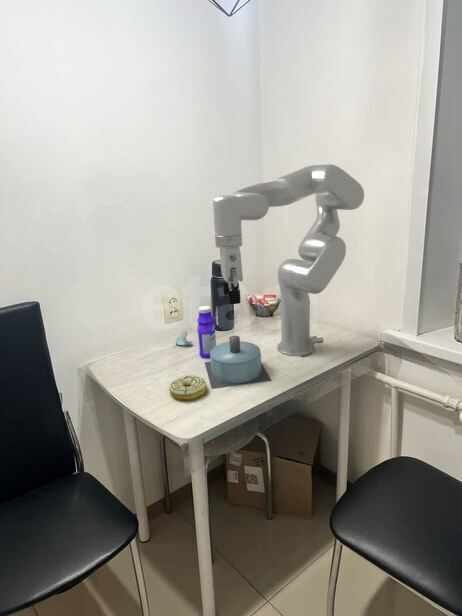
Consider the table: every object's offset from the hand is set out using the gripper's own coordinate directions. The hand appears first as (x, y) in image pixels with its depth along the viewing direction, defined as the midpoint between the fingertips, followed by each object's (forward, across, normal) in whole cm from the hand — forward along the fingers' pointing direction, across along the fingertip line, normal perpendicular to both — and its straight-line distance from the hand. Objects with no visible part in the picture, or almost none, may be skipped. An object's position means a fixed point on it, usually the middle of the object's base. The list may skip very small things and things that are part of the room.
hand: (231, 298), depth 121 cm
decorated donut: (+24, -9, +16) cm, 30 cm away
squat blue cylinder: (+24, 0, 0) cm, 24 cm away
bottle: (+24, +15, +7) cm, 29 cm away
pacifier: (+24, +26, +15) cm, 39 cm away
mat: (+24, 0, 0) cm, 24 cm away
